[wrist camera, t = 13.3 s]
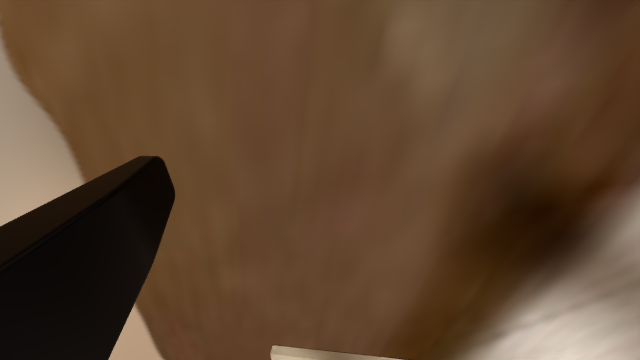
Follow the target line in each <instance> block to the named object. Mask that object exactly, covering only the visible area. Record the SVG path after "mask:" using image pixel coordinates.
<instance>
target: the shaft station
mask: <svg viewBox="0 0 640 360" xmlns="http://www.w3.org/2000/svg"><path fill="white" fill-rule="evenodd" d="M270 355H271V358H272V360H403V359H394V358H385V357H376V356H367V355H358V354H349V353H340V352H330V351H321V350H312V349H303V348H294V347H285V346H276V345H273V346H272V350H271V354H270Z"/></svg>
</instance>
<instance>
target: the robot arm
mask: <svg viewBox="0 0 640 360" xmlns="http://www.w3.org/2000/svg"><path fill="white" fill-rule="evenodd" d="M174 200H175V190H174V186H173V184H172V181H171V178H170V175H169V173H168V170H167V167H166V165H165V162H164V161H163V159H162V158H160V157H158V156H139V157H137V158H135V159H133V160H131V161H129V162H127V163H125V164H123V165H121V166H119V167H117V168H115V169H113V170H111V171H109V172H107V173H105V174H103V175H101V176H99V177H97V178H95V179H93V180H91V181H89V182H87V183H85V184H83V185H81V186H80V187H78V188H75V189H73V190H72V191H70V192H68V193H66V194H64V195H62V196H60V197H58V198H56V199H54V200H52V201H50V202H48V203H46V204H44V205H42V206H40V207H38V208H36V209H34V210H32V211H30V212H28V213H26V214H24V215H22V216H20V217H18V218H16V219H14V220H12V221H10V222H8V223H6V224H4V225H3V226H0V360H108V359H109V357H110V355H111V352H112V350H113V348H114V346H115V344H116V342H117V340H118V338H119V335H120V333H121V331H122V329H123V327H124V325H125V323H126V321H127V318H128V316H129V314H130V312H131V310H132V308H133V306H134V303H135V301H136V299H137V297H138V295H139V293H140V291H141V288H142V286H143V284H144V282H145V280H146V278H147V276H148V273H149V271H150V269H151V266H152V264H153V261H154V259H155V256H156V254H157V251H158V248H159V245H160V242H161V239H162V236H163V233H164V230H165V227H166V224H167V221H168V218H169V215H170V212H171V209H172V206H173V203H174Z"/></svg>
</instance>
